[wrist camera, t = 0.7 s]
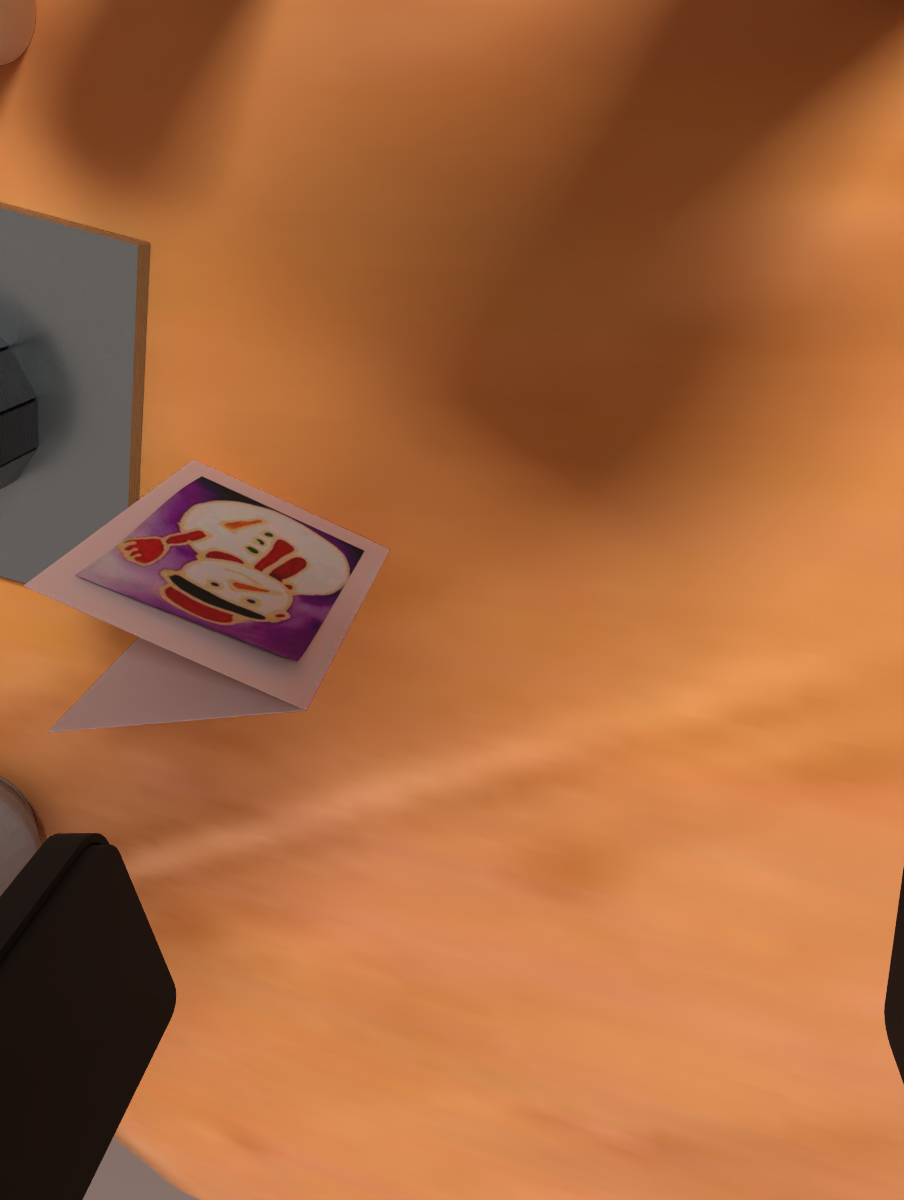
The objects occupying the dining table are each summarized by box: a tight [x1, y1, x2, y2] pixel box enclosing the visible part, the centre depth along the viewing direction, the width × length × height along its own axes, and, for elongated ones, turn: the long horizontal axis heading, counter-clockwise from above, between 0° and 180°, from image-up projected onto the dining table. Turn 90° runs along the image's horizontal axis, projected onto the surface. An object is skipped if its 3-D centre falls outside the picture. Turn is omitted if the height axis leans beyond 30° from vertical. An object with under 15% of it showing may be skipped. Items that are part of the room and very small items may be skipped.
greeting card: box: [24, 459, 390, 733], centre depth 39 cm, size 11×7×15 cm, turn 67°
